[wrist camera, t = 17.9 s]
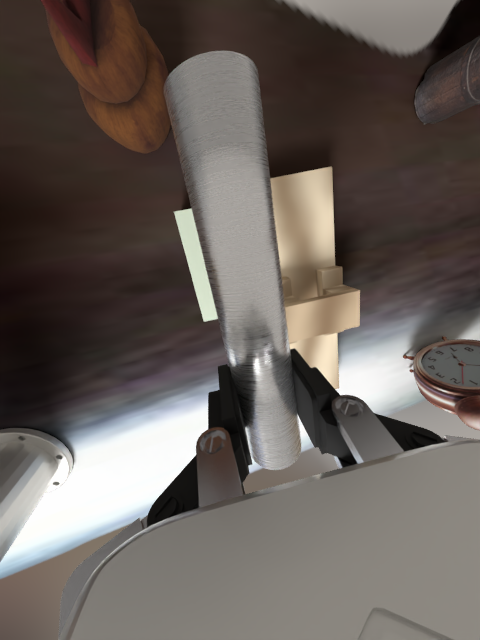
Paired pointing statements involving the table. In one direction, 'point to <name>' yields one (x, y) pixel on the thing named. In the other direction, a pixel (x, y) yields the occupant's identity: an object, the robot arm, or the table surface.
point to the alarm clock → (451, 377)
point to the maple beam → (312, 269)
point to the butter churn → (450, 85)
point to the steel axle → (238, 239)
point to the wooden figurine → (113, 68)
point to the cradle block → (196, 263)
